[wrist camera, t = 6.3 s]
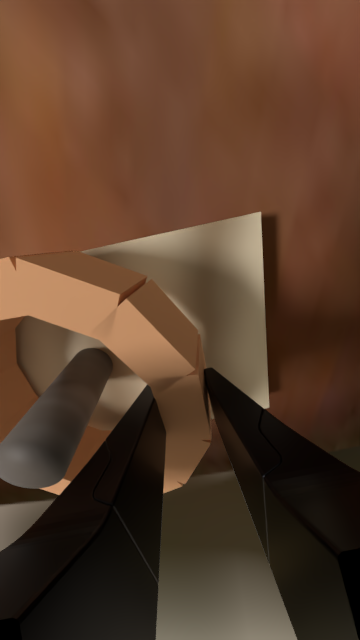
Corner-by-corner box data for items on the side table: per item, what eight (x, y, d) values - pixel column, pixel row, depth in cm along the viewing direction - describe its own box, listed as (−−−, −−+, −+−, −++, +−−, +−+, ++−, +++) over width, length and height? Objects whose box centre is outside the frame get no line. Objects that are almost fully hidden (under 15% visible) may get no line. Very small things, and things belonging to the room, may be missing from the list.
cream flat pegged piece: (249, 216, 11) (391, 164, 4) (260, 392, 16) (334, 512, 9) (-70, 286, 11) (-451, 351, 4) (35, 438, 16) (-68, 586, 9)
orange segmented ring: (180, 225, 8) (165, 217, 5) (220, 446, 12) (225, 507, 9) (-64, 283, 10) (-167, 300, 7) (48, 449, 14) (12, 499, 12)
